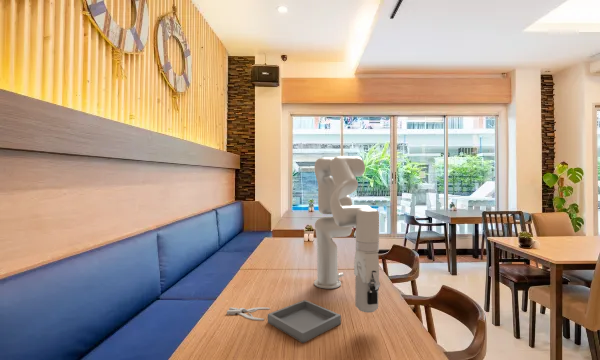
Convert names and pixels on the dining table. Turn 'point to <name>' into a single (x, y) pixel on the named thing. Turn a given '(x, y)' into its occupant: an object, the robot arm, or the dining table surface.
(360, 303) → the can
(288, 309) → the parts tray
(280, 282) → the dining table surface
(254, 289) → the dining table surface
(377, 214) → the robot arm
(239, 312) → the pliers
